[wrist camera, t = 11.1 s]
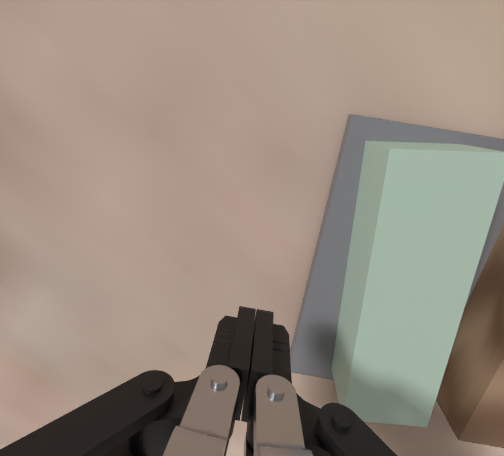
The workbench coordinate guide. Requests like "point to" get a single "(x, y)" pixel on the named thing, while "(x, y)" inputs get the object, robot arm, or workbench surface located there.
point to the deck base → (340, 229)
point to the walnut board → (479, 360)
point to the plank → (410, 273)
